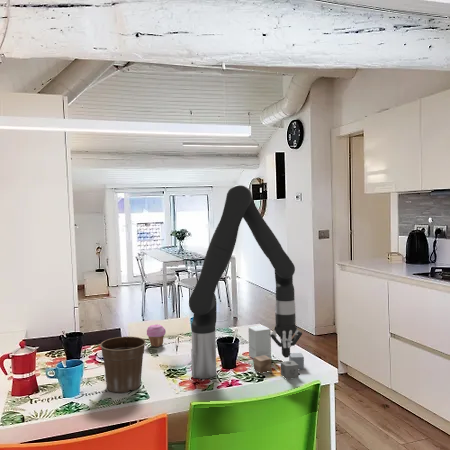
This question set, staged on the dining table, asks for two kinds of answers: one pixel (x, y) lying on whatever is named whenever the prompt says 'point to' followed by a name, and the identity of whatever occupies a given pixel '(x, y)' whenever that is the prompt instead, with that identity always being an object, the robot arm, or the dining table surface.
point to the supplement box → (259, 341)
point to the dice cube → (289, 369)
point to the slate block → (297, 359)
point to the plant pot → (123, 363)
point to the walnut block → (262, 363)
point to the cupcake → (156, 334)
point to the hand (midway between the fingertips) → (286, 356)
